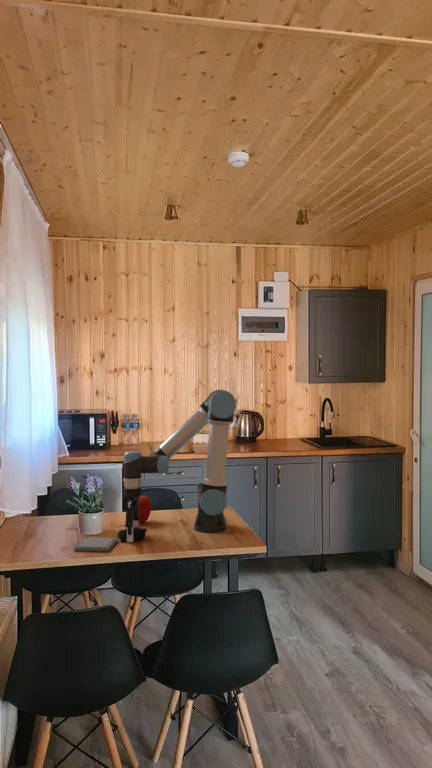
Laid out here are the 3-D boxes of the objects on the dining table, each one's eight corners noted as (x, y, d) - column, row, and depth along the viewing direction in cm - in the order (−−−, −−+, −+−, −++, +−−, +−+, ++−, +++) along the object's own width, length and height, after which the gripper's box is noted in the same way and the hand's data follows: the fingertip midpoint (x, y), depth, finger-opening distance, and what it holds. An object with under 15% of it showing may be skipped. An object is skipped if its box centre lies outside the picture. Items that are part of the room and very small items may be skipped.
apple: (146, 518, 277) (145, 490, 277) (156, 524, 267) (156, 494, 267) (122, 522, 271) (122, 493, 270) (132, 528, 260) (131, 498, 260)
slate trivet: (117, 541, 240) (117, 537, 240) (108, 551, 226) (108, 547, 226) (85, 540, 241) (85, 536, 241) (74, 551, 227) (74, 547, 227)
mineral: (131, 545, 235) (130, 531, 235) (116, 541, 241) (115, 527, 241) (147, 539, 244) (147, 526, 243) (132, 535, 249) (132, 522, 249)
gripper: (130, 482, 254) (130, 531, 255) (117, 492, 233) (117, 546, 233) (146, 482, 254) (146, 531, 254) (135, 492, 232) (135, 546, 232)
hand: (132, 538), depth 244 cm, fingers open, 9 cm apart
